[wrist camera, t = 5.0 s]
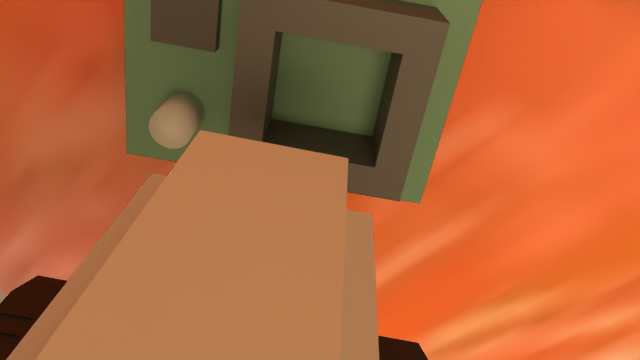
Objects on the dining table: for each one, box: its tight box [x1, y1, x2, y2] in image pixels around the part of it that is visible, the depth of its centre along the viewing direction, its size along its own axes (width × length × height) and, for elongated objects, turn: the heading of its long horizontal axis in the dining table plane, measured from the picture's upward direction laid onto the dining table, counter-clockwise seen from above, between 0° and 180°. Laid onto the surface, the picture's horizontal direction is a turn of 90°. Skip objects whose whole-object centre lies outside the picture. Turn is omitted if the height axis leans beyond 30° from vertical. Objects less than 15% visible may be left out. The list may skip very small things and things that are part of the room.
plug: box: [35, 130, 348, 360], centre depth 10 cm, size 4×4×10 cm
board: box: [124, 0, 483, 204], centre depth 24 cm, size 16×12×5 cm
